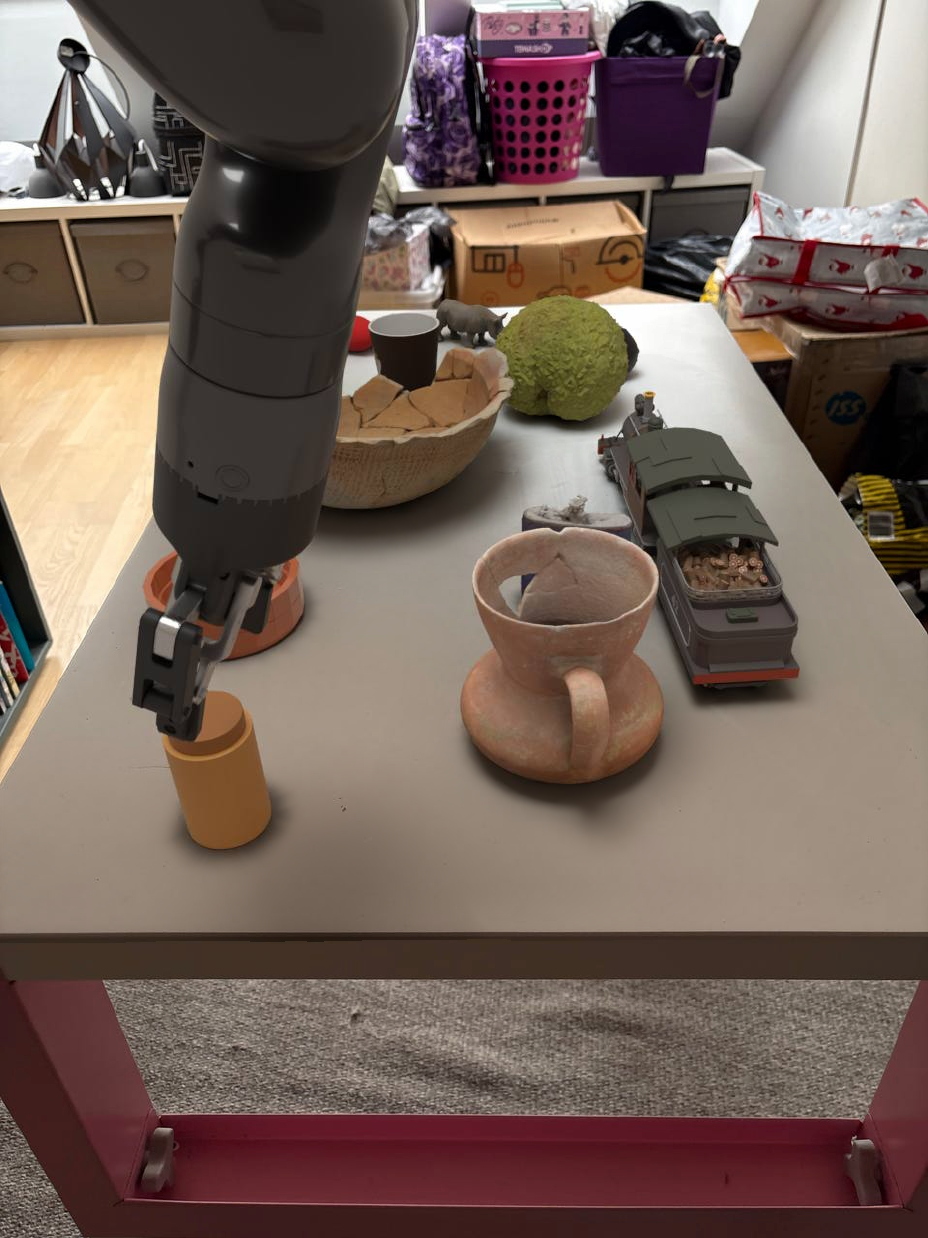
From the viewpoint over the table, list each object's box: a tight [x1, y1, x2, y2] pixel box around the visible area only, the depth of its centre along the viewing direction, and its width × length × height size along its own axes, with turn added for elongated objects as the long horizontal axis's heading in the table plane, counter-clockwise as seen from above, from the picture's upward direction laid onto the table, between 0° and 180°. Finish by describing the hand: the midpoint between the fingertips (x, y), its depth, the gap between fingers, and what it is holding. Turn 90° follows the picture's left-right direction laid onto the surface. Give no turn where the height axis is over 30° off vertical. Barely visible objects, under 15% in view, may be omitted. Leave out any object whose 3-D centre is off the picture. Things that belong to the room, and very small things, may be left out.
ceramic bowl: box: [321, 346, 515, 510], centre depth 100 cm, size 30×27×15 cm
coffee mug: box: [368, 312, 439, 392], centre depth 120 cm, size 12×9×10 cm
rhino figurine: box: [435, 298, 509, 350], centre depth 136 cm, size 4×14×6 cm, turn 54°
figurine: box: [621, 327, 640, 375], centre depth 130 cm, size 8×7×18 cm
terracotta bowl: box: [142, 549, 305, 660], centre depth 83 cm, size 13×13×4 cm
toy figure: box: [348, 314, 372, 352], centre depth 139 cm, size 8×5×15 cm
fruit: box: [494, 294, 629, 422], centre depth 114 cm, size 16×14×15 cm
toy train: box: [597, 390, 801, 690], centre depth 88 cm, size 45×9×11 cm, turn 3°
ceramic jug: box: [459, 527, 665, 785], centre depth 66 cm, size 18×14×14 cm
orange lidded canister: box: [161, 690, 272, 850], centre depth 63 cm, size 6×6×9 cm
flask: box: [520, 494, 634, 598], centre depth 81 cm, size 9×3×11 cm, turn 78°
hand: (213, 676), depth 53 cm, fingers open, 8 cm apart
